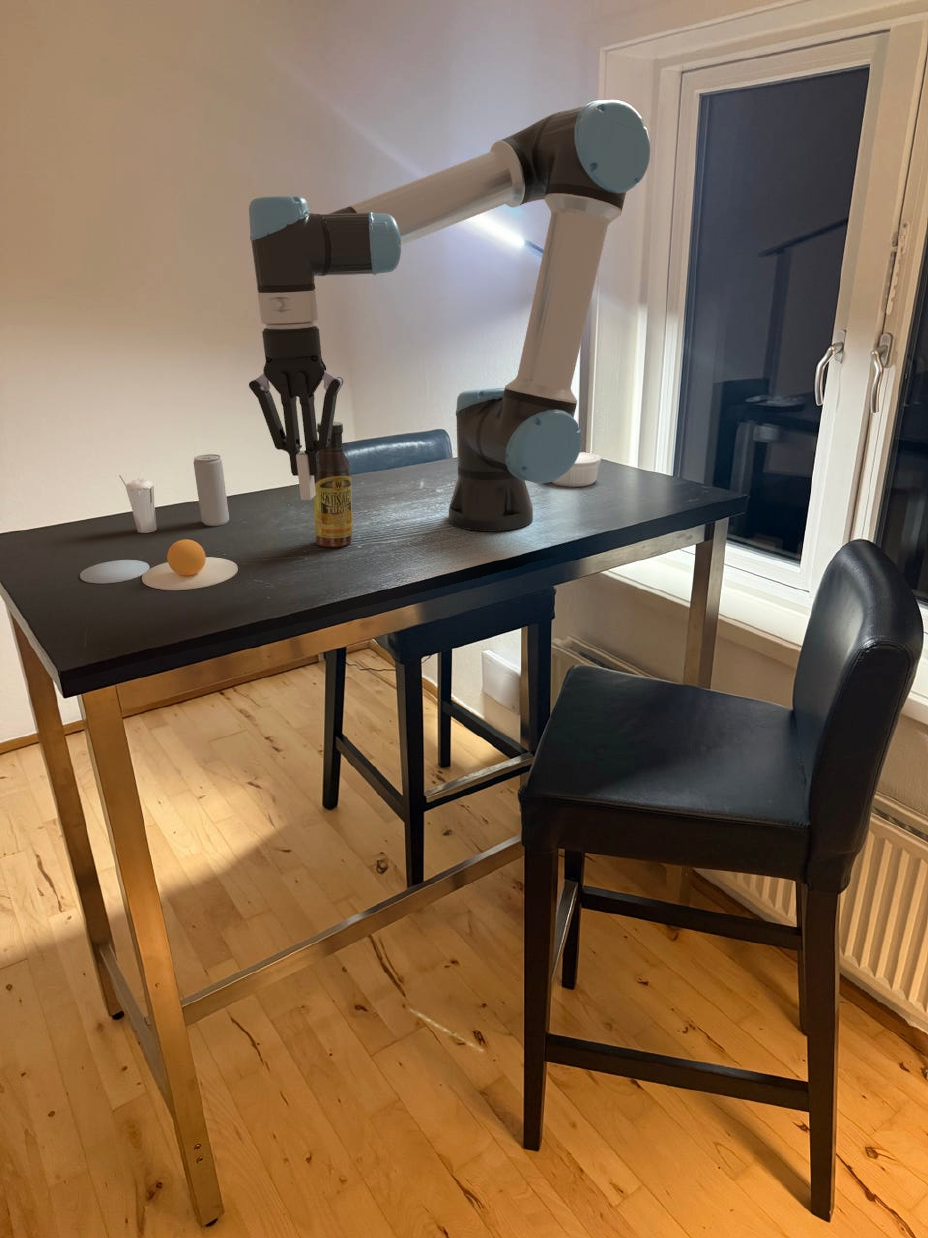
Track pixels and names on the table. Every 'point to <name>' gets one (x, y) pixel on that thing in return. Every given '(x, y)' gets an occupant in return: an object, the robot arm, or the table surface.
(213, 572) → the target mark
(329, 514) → the sauce bottle
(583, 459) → the ramekin
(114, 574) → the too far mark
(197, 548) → the ball
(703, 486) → the table surface
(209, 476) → the beverage can
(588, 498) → the table surface
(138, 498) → the milkshake
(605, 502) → the table surface
